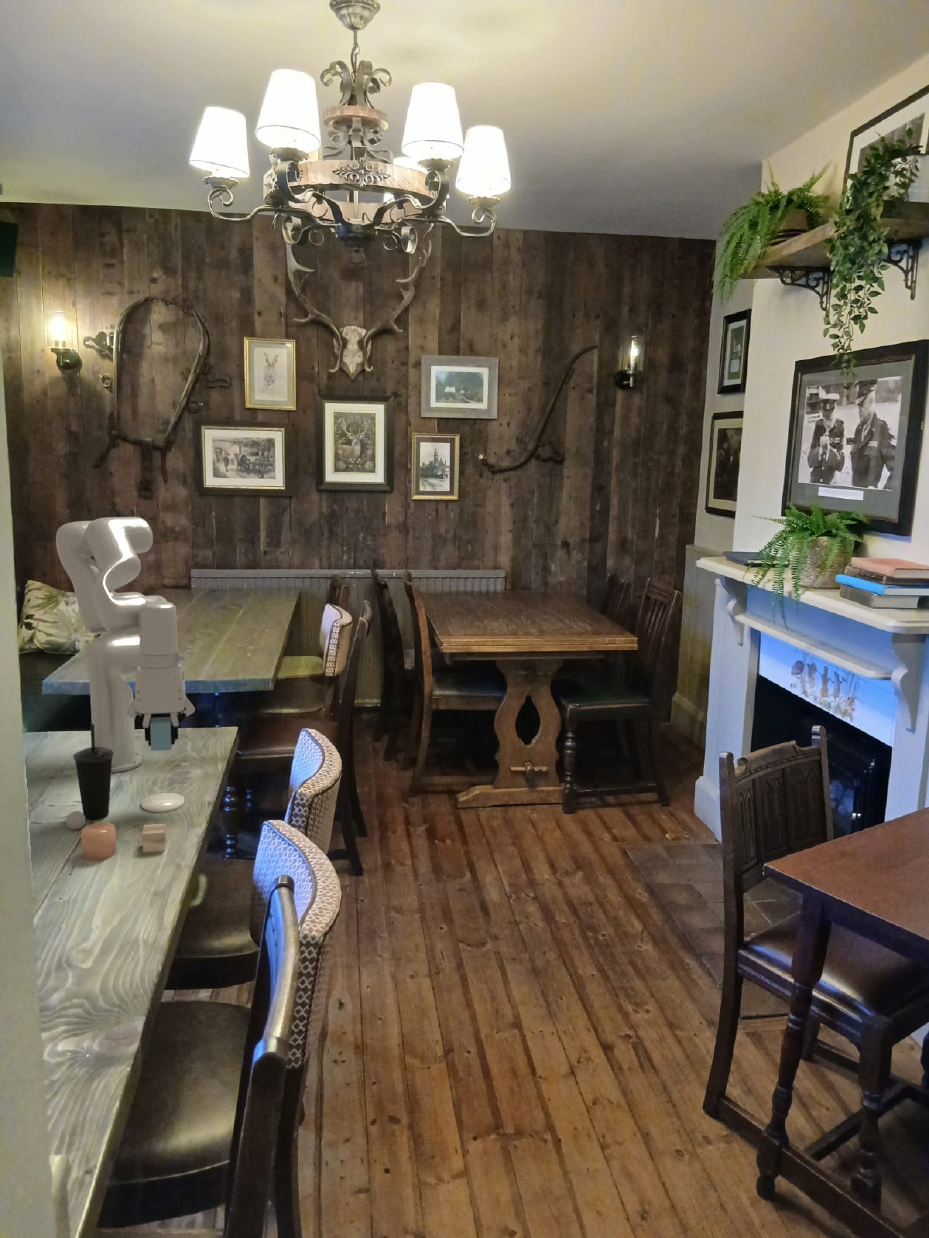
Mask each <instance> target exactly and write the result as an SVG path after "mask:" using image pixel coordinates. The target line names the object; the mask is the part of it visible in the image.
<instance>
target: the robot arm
mask: <svg viewBox="0 0 929 1238" xmlns="http://www.w3.org/2000/svg"><path fill="white" fill-rule="evenodd" d="M153 536H154V535H153V531H152V528H151V526H150V525H149V523H148V522H147V521H146V520H145V519H144V518H142V517H139V516H117V517H116V516H115V517H114V516H113V517H112V516H111V517H108V516H107V517H100V518H97V519H94V520H80V521H72V522H67V523H65V524H63V525H61V526H60V527H59V528H58V529H57V531H56V535H55V544H56V545H55V546H56V552H57V555H58V558H59V561H60V563H61V566H62V567H63V569H64V571H66V574H67V576H68V578H69V579H70V581H71V584H72V586H73V590H74V594H75V598H76V602H77V605H78V606H77V607H78V610H79V614H80V619H81V621H82V625H83V627H84V628H85V630H86V631H87V632H88V633H90V634H94V635H104V634H105V635H106V634H115V635H107V636H101V637H97V638H94V639H92V640H90V641H89V642H88V643H87V644H86V646H85V647H84V651H83V655H84V656H83V657H84V662H85V668H86V672H87V677H88V682H89V683H88V685H89V696H90V698H89V699H90V711H91V713H90V714H91V724H94V734H95V747H103V748H107V749H110V750H112V751H113V753H114V755H113V757H112V766H111V774H112V773H119V772H126V771H129V770H132V769H135V768H137V767H139V766H140V765H141V764H142V763H143V756H142V754H141V753H139V752H137V751H136V740H135V737H136V735H135V734H136V732H135V721H136V722H137V723H139V724H140V725H141V726H142V727H143V728H144V741H145V742H147V744H148V745H147V746H148V747H151V730H150V723H151V719H152V718H151V717H152V715H157V714H158V715H161V714H162V715H163V714H170V717H171V719H172V724H171V744H172V746H174V745H175V744H176V740H179V725H180V724H181V723H182V722H183V721H184V720H185V719H186V718H187V717H189V716H190V715H192V714H194V713H195V712H196V711H195V710H196V708H195V706H194V705H193V703H192V702H191V701H190V700H189V699H188V697H187V695H186V694H187V692H186V682H185V681H186V680H185V675H184V668H183V665H182V664H180V662H183V661H186V655H185V654H182V653H180V652H179V651H178V625H177V624H178V623H177V621H178V620H177V619H178V618H177V609H176V608H177V607H176V605H175V604H174V603H172V602H169V601H167V599H166V598H165V597H163V596H161V595H144V594H142V593H140V592H137V591H127V592H126V591H125V592H116V590H118V589H119V588H122V587H124V586H125V585H128V584H129V583H131V582H132V581H134V580H135V579H136V578H137V577H138V576H139V574H140V572H141V568H142V564H141V560H140V558H139V556H138V555H137V554H144V553H146V552H148V551H149V550H150V549H151V548H152V546H153V542H154V541H153V540H154V537H153ZM91 557H94V560H93V559H92V558H91ZM131 674H133V675H134V674H135V680H134V681H135V683H134V691H133V689H132V688H131V686H130V685H129V683H127V682H126V681H125V680H123V678H122V677H123V676H125V675H126V676H127V675H131ZM133 692H134V693H133Z"/></svg>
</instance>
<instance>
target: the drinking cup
mask: <svg viewBox="0 0 929 1238" xmlns="http://www.w3.org/2000/svg"><path fill="white" fill-rule="evenodd" d="M90 741H91V742H90V745H91V747H86V748H83V749H82V750H79V751H77V752H75V753H74V754H73V756H72V757H73V760H74V761H75V768H76V773H77V781H78V787H79V796H80V801H81V808H82V813H83V814H84V816H85V820H88V821H99V820H103V819H104V818H108V816H109V814H110V813H109V812H110V797H111V796H110V794H111V793H110V792H111V779H112V773H111V766H112V757H113V755H114V753H113V751H112V750H110V749H107V748H103V747H95V734H94V724H92V723H91V724H90Z"/></svg>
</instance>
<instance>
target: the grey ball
mask: <svg viewBox="0 0 929 1238" xmlns="http://www.w3.org/2000/svg"><path fill="white" fill-rule="evenodd" d="M65 823H66V824H65V825H66V826H67V828H70V829H71V830H79V829H82V827H83V826H84V825H85V823H86V819H85V816H84V814H83V812H81V811H78V810H75V811H71V812H70V813H68V815H67V816H66V819H65Z"/></svg>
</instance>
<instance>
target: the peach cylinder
mask: <svg viewBox="0 0 929 1238" xmlns="http://www.w3.org/2000/svg"><path fill="white" fill-rule="evenodd" d="M116 838H117V837H116V825H114V824H112V823H110V822H95V823H91V824H88V825H86V826H84V827H83V828H81V830H80V839H81V840H80V842H81V857H82V858H83V859H84V860H86V861H91V862H95V861H96V862H97V861H103V860H107V859H110V858H112V857H113V856H115V855H116V853H117V841H116V840H117V839H116Z"/></svg>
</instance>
